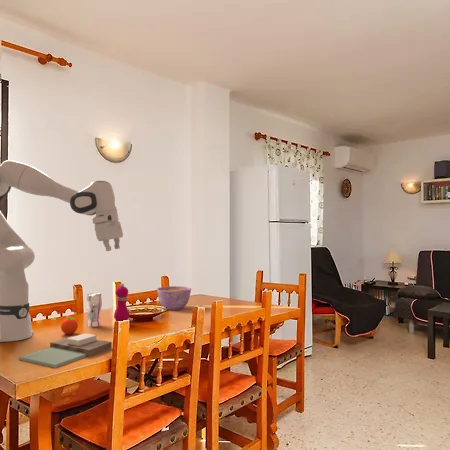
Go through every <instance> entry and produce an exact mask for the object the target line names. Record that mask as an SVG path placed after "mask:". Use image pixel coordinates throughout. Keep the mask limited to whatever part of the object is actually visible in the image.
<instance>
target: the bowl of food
mask: <svg viewBox="0 0 450 450" xmlns="http://www.w3.org/2000/svg"><path fill="white" fill-rule="evenodd" d="M156 291H157V296H158V297H157V298H158V300H159V303H160V305H161V307H163V306H164V307H163V308H165V307H168V309H167V310H168V311H169V310H170V311H176V310H177V311H178V310H181V309H183V308H184V307H186V306H187V304H188V303H189V300H190V297H191V292H192V288H191V287H189V286H174V285H173V286H162V287H158V288H156Z"/></svg>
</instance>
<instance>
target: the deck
mask: <svg viewBox="0 0 450 450" xmlns="http://www.w3.org/2000/svg"><path fill="white" fill-rule="evenodd" d="M74 336H75V335H72V336H71V335H70V336H67V337H64V338H61V339H57V340H54V341H51V342H50V343H49V348H50V347H55V348H60V349H65V350H70V351H75V352H80V353H85V354H87V355H86V357H87V358H89V357H92V356H94V355H95V356H96V355H97V354H99V353H103V352H106V351H108V350H112V349H113V346H112V345H113V344H112V343H113V342H112V341H107V340H103V339H97V338H96V341H93V342H89V343H86V344H83V345H80V346H76V345H71V344H67V338H71V337H74Z"/></svg>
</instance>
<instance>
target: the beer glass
mask: <svg viewBox="0 0 450 450" xmlns="http://www.w3.org/2000/svg"><path fill="white" fill-rule="evenodd" d="M102 303H103V297H102V293H96V292H95V293H93V292H92V293H88V294H86V311H87V325H86V326H87V328H99V327H100V326H101V319H100V318H101V312H102V306H103V304H102Z"/></svg>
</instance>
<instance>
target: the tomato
mask: <svg viewBox="0 0 450 450" xmlns="http://www.w3.org/2000/svg"><path fill="white" fill-rule="evenodd" d="M78 323H79V320H77V319H76V318H74V317H69V318H66V319H64V320H63V321H62V322H61V324H60V328H61V329H60V330H61V331H62V332H63V333H64V334H65V335H73V334H74V333H76V331H77V330H78V325H79V324H78Z"/></svg>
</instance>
